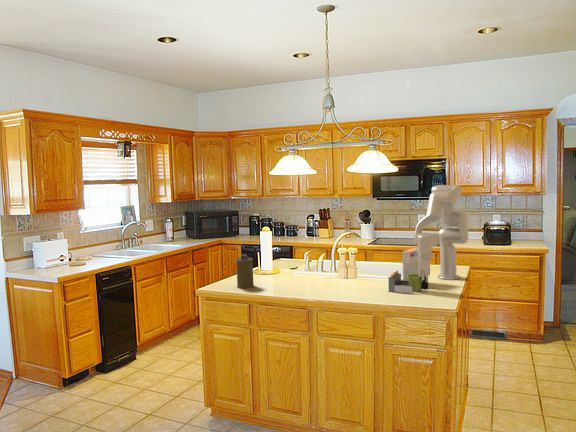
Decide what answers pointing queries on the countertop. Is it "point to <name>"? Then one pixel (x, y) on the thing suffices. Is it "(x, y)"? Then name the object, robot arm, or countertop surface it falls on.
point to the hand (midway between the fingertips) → (425, 289)
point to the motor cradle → (399, 284)
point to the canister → (244, 272)
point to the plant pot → (415, 282)
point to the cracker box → (410, 262)
